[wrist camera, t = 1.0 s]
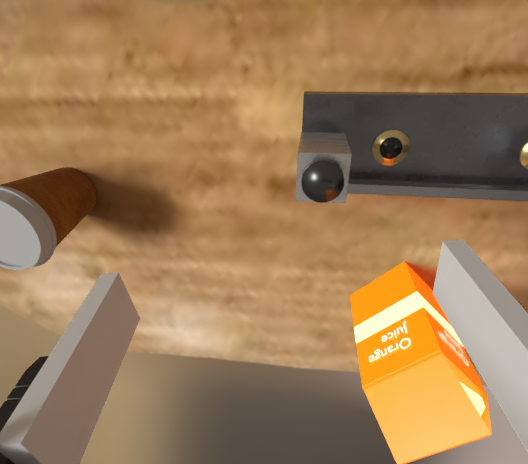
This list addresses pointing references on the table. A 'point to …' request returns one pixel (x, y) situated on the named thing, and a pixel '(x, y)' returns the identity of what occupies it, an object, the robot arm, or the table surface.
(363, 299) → the orange juice
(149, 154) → the table surface
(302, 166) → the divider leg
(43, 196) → the disposable coffee cup
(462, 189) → the plate
